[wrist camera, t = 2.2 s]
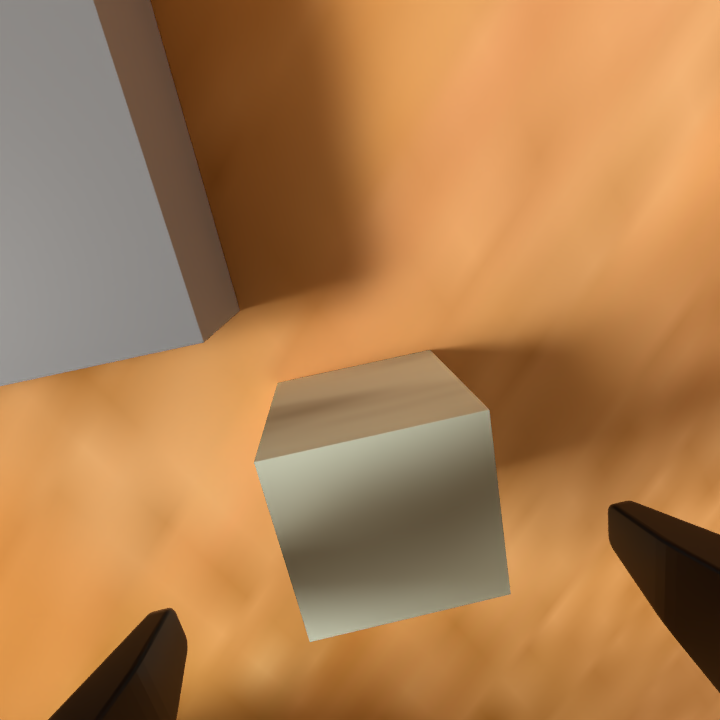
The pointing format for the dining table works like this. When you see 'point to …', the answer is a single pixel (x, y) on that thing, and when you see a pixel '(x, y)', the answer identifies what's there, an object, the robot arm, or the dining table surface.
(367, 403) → the cube
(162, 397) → the dining table surface
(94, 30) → the plinth
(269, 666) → the dining table surface
